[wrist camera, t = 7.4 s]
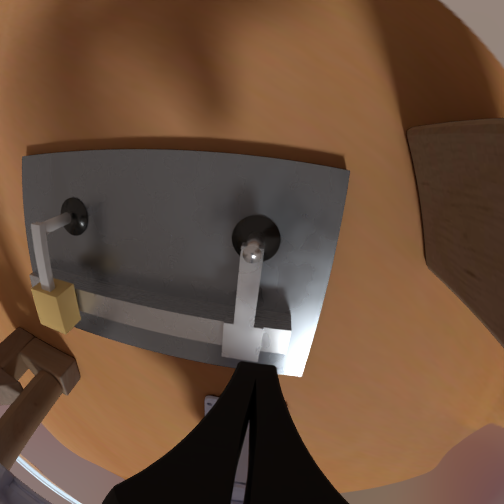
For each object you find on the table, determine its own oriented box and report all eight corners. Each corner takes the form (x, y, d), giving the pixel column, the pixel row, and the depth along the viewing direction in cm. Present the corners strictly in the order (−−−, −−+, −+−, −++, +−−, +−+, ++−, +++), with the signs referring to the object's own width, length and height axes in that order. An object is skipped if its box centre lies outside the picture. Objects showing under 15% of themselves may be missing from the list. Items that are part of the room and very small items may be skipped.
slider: (92, 308, 20) (66, 334, 16) (67, 300, 20) (40, 323, 16) (80, 212, 17) (44, 228, 13) (54, 210, 17) (19, 224, 14)
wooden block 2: (18, 325, 25) (-62, 405, 8) (76, 357, 25) (-7, 469, 8) (25, 345, 26) (-46, 425, 9) (82, 378, 26) (11, 483, 9)
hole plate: (300, 369, 22) (302, 400, 18) (47, 311, 23) (28, 328, 20) (347, 170, 16) (363, 174, 13) (28, 155, 17) (0, 160, 14)
